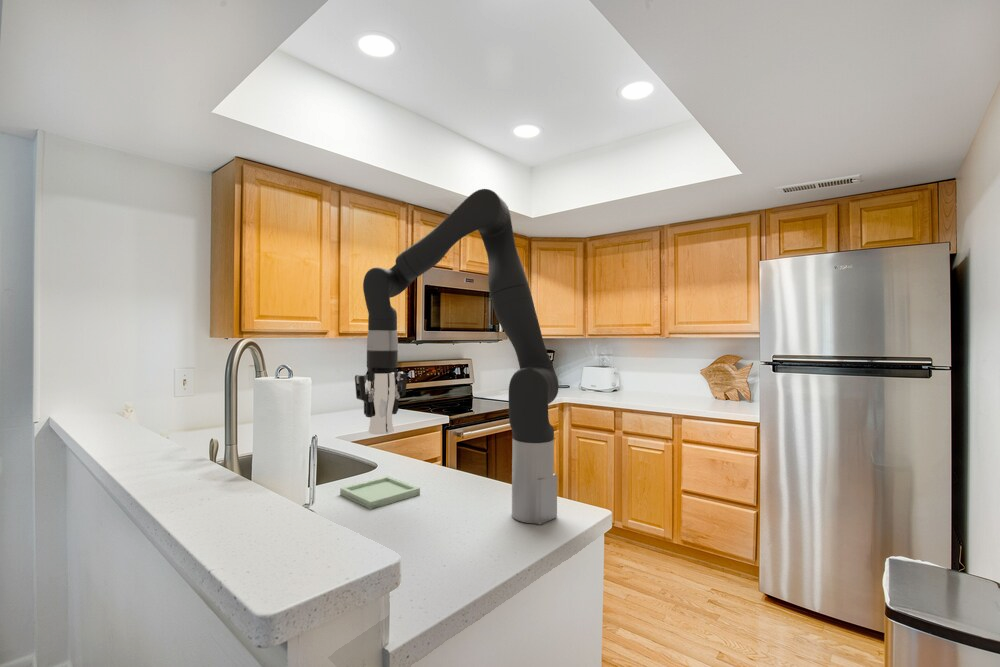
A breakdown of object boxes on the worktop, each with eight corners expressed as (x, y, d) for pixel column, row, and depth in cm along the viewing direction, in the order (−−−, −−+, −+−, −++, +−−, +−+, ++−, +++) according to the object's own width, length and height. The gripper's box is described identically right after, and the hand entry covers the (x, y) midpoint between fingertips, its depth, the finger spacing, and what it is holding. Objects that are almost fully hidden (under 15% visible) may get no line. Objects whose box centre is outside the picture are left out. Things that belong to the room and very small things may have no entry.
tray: (419, 494, 119) (420, 488, 119) (370, 509, 109) (370, 502, 109) (388, 482, 129) (388, 476, 129) (340, 494, 119) (340, 488, 119)
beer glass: (361, 433, 117) (361, 372, 117) (376, 428, 123) (377, 370, 123) (386, 436, 115) (386, 373, 115) (400, 430, 121) (401, 371, 121)
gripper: (364, 349, 111) (363, 421, 111) (414, 348, 122) (414, 414, 122) (348, 348, 116) (347, 416, 116) (398, 347, 127) (397, 410, 127)
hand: (381, 415), depth 119 cm, fingers closed on beer glass, 6 cm apart
